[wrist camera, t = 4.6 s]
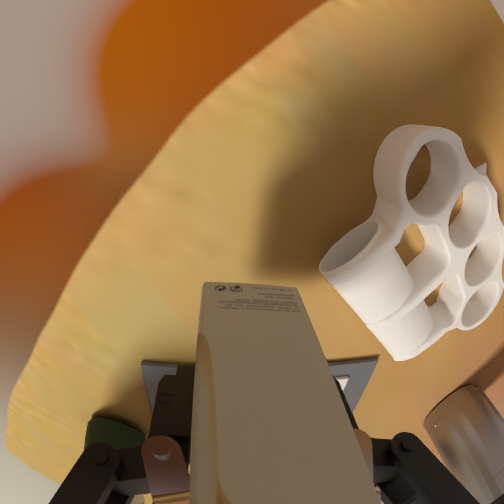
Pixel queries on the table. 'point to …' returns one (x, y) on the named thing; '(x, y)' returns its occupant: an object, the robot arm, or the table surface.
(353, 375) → the notepad
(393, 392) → the table surface
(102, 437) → the character mug
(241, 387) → the skincare box
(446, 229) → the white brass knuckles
